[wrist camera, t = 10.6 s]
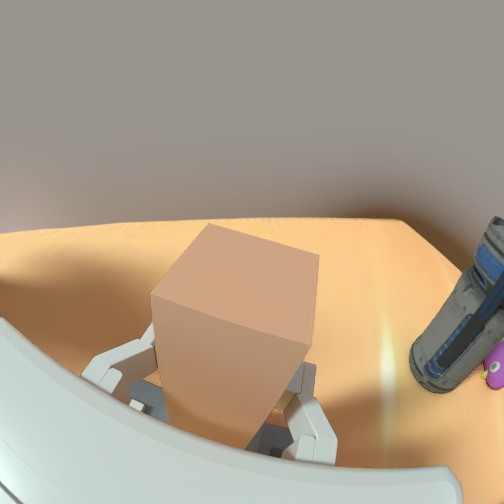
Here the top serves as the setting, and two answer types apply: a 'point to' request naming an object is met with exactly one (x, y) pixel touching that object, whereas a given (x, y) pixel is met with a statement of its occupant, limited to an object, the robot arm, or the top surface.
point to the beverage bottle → (465, 320)
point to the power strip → (153, 404)
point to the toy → (495, 366)
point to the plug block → (232, 331)
